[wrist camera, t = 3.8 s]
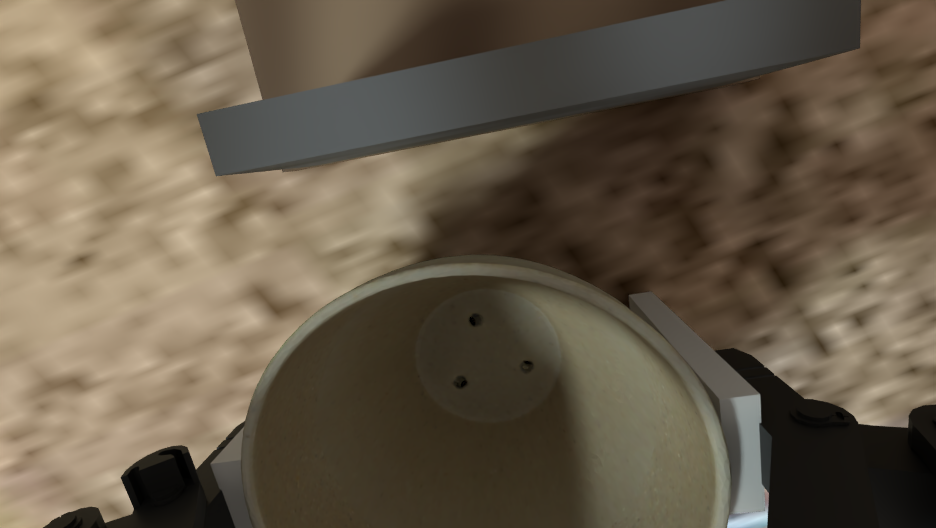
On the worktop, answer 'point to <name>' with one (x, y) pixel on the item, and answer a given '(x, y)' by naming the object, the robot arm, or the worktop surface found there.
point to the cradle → (490, 67)
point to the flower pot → (482, 410)
